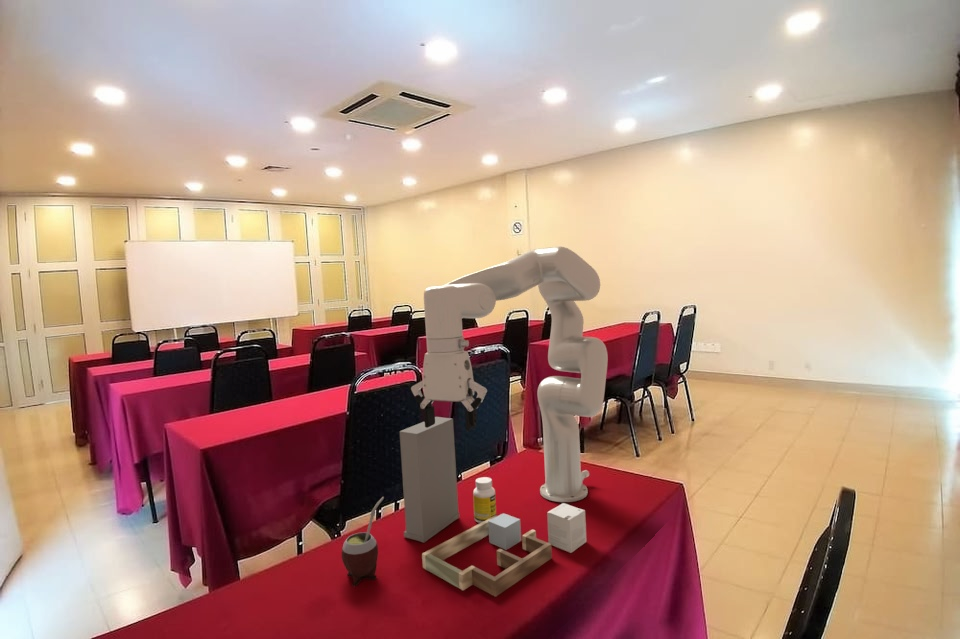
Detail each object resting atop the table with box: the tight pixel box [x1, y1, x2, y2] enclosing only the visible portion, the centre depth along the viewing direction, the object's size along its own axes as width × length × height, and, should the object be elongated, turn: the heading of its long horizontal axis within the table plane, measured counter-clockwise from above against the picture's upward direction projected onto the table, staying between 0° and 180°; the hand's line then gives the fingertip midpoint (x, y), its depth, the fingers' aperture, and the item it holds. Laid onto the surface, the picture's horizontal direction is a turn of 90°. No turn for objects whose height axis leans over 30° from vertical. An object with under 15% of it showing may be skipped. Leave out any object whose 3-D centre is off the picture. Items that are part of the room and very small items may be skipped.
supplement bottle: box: [472, 476, 497, 524], centre depth 124 cm, size 5×5×10 cm
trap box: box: [421, 514, 553, 597], centre depth 105 cm, size 22×18×3 cm
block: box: [488, 512, 522, 551], centre depth 112 cm, size 5×5×5 cm
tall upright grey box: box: [399, 416, 460, 544], centre depth 120 cm, size 14×6×25 cm, turn 147°
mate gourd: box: [341, 496, 385, 587], centre depth 102 cm, size 8×8×15 cm
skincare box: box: [546, 502, 587, 554], centre depth 110 cm, size 6×6×7 cm
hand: (450, 427), depth 106 cm, fingers open, 9 cm apart
